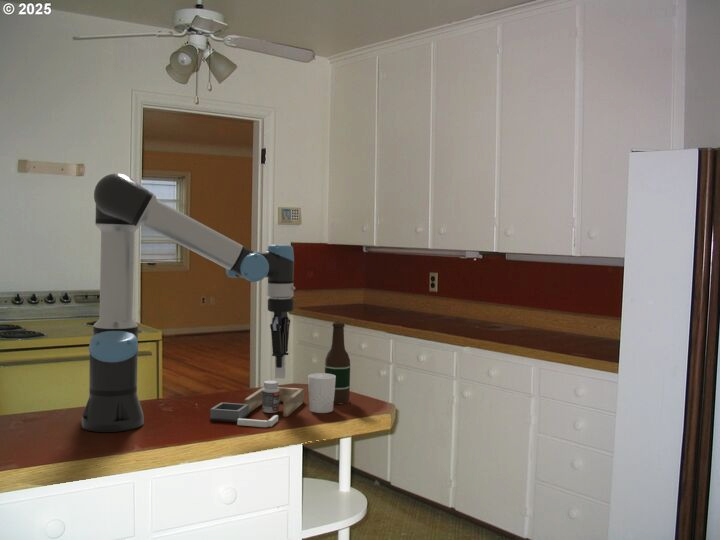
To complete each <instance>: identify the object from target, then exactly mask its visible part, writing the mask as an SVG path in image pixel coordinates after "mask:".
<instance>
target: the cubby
mask: <svg viewBox="0 0 720 540" xmlns="http://www.w3.org/2000/svg"><path fill="white" fill-rule="evenodd" d="M264 388H265V387H264V386H263V387H261V388H259V389H258V390H256V391H255V392H253V393H252V394H250V395H249V396H247V397H246V398H244V404H249V414H250V413H251V412H253V411H255V409H257V408H258V407H260V406H262V399H263V389H264ZM277 388H279V402H280V403H281V402H282V403H283V407H282V408H283V411H282V417H289V416H290V415H291V414H292V413H293V412H294V411H296V410H297V409H298V408H299V407H300V406H301V405H302V404H303V403H304V401H305V399H304V398H305V397H304V396H305V388H298V387H297V388H296V387H282V386H281V387H280V386H278V387H277Z"/></svg>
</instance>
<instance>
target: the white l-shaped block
mask: <svg viewBox="0 0 720 540" xmlns="http://www.w3.org/2000/svg"><path fill="white" fill-rule="evenodd" d="M277 422H279V415H278V414H274V415H272V416H271V418H269V419H268V420H265V419H263V420H262V419H251V418H244V419H240V418H239V419H237V422H236V425H237V426H244V427H245V426H246V427H247V426H248V427H257V428H268V427H271V428H272V427H273V426H274V425H275V424H276V423H277Z"/></svg>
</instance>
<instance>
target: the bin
mask: <svg viewBox="0 0 720 540" xmlns="http://www.w3.org/2000/svg"><path fill="white" fill-rule="evenodd" d="M209 412H210V413H209V414H210V415H209V416H210V417H209V420H210V421H215V422H226V423H228V422H229V423H237V419H239V418H240V419H246V418H247V417H249V414H250V413H249V404H245V403H237V402H236V403H233V402H220V403H218V404H216V405H214V406H213V407H211V408H210V410H209Z"/></svg>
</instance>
